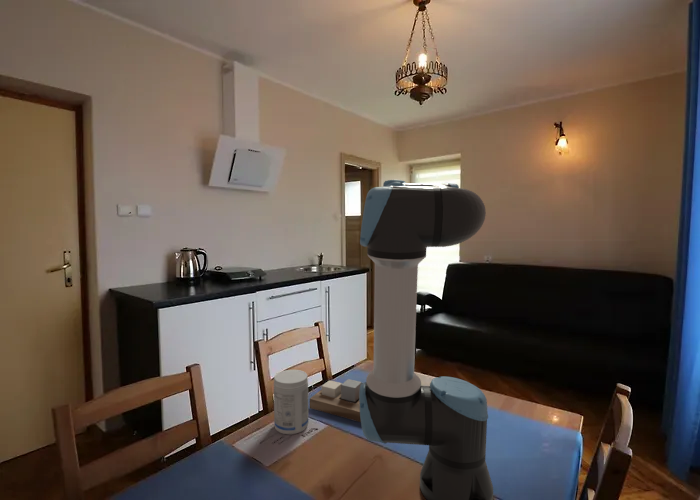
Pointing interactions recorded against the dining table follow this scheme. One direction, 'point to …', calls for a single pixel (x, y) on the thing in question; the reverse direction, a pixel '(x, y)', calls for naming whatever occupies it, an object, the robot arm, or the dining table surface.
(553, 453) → the dining table surface
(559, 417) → the dining table surface
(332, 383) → the beige cube
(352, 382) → the gray cube
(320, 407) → the wooden board
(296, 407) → the supplement tub
